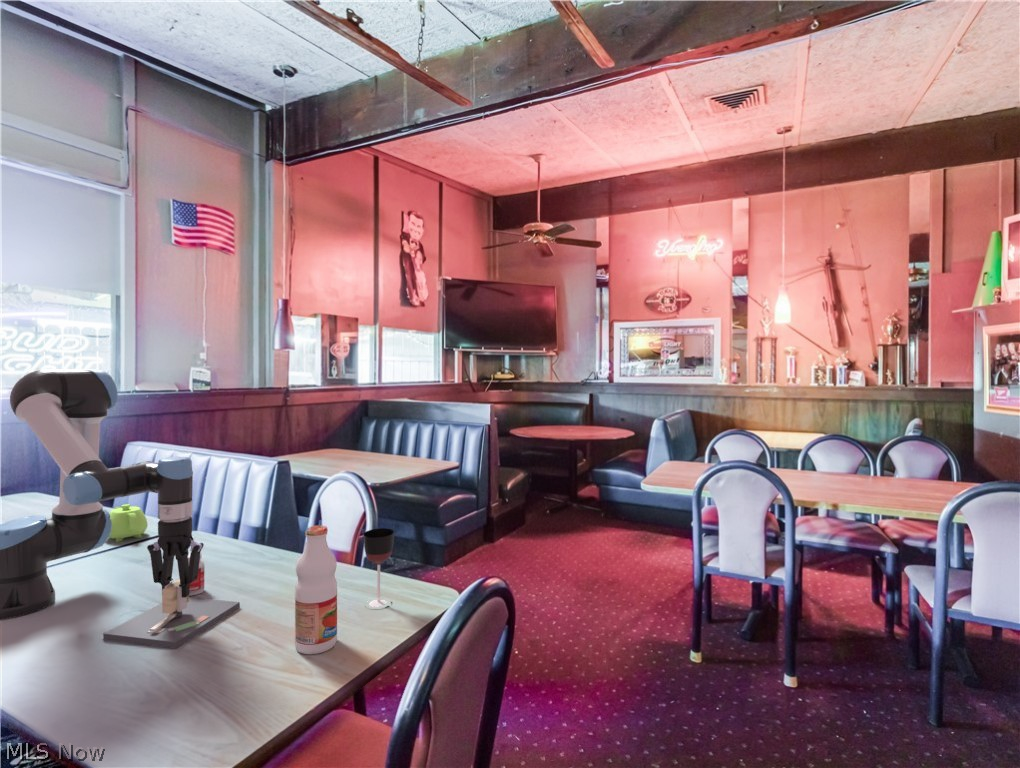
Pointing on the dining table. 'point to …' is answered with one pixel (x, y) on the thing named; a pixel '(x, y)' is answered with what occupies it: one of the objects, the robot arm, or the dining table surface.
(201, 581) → the pill bottle
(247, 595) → the dining table surface
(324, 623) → the fruit juice
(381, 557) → the wineglass
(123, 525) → the teapot
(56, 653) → the dining table surface
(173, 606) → the beige boxy piece
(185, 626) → the dial board
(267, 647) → the dining table surface
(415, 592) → the dining table surface
